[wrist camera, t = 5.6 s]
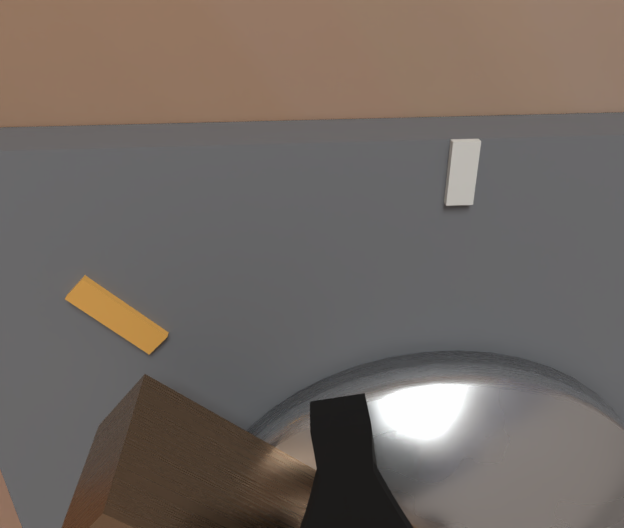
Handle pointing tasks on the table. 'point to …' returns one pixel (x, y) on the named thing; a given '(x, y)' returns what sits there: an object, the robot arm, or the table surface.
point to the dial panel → (291, 264)
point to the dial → (388, 448)
